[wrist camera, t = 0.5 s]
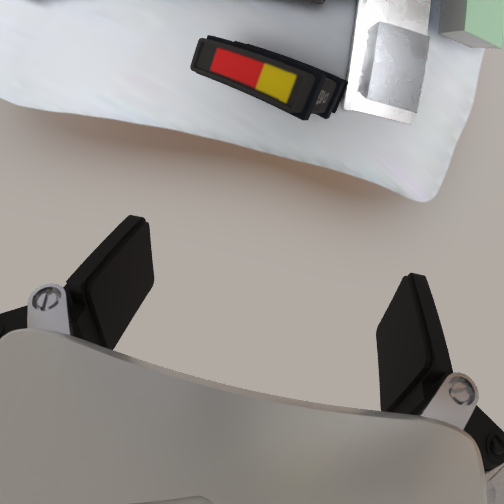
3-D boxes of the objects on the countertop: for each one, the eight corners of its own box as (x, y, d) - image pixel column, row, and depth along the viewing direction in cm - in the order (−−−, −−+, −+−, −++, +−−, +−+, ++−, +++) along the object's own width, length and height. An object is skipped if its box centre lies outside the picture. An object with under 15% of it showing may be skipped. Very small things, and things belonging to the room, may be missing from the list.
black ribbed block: (359, 122, 31) (295, 120, 20) (265, 78, 35) (173, 67, 24) (372, 93, 29) (316, 71, 18) (275, 51, 33) (184, 30, 22)
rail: (363, -84, 17) (370, -108, 11) (430, -65, 16) (448, -82, 10) (341, 106, 32) (346, 115, 27) (407, 122, 31) (424, 136, 26)
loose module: (442, -9, 20) (468, -21, 14) (475, 5, 20) (505, -1, 14) (438, 33, 24) (464, 30, 18) (471, 47, 23) (501, 48, 17)
